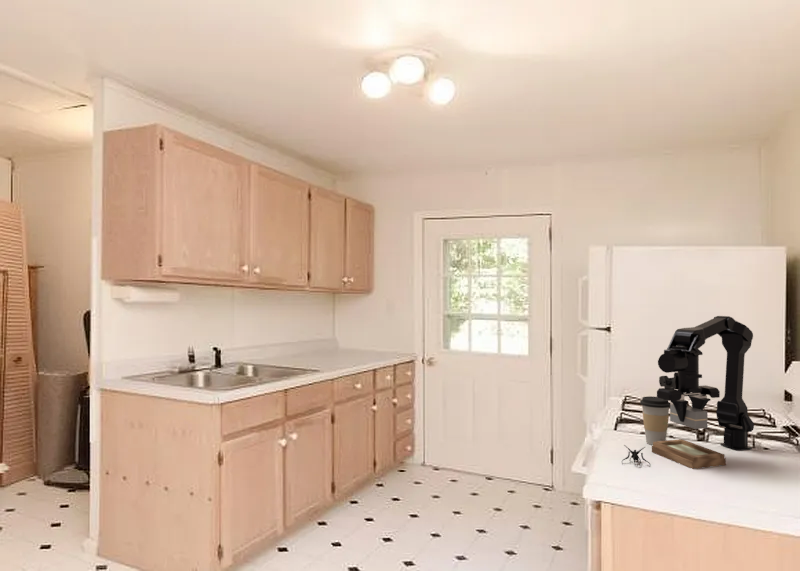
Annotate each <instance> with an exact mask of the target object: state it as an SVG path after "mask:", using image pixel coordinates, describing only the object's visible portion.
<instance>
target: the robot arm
mask: <svg viewBox="0 0 800 571" xmlns="http://www.w3.org/2000/svg"><path fill="white" fill-rule="evenodd" d="M715 335H718V336H719V338H720V337H721V344H722V346H723V348H724V351H726V363H725V380H724V381H725V383H724V396H723V397H722V398H721V400H718V401H717V403H716V411H715V414H716V420H717V422H718V426H719V427H722V428H723V429H724V430H723V431H724V432H723V443H722V442H721V443H720V446H723V447H725V448H728V449H731V450H733V451H744V450H745V451H746V450H752V449H753V447H752V446H749V444H748V443H749V441H748V439H749V437H748V434H749V433H751V432H753V431H754V427H755V423H754V422H753V420H752V418H751V417H750V415H749V414H748V406H747V405H746V404H747V403H746V402H745V401H744V398H743V392H744V391H743V388H744V373H745V372H744V371H745V370H744V369H745V356H746V355H745V354H746V353H747V352H748V351H749V349H750V348H751V346H752V341H753V339H754V333H753V331H752V330H751V329H750V328H749V327H748V326H747V325H745V324H743V323H741V322H739V321H737V320H735V319H734V317H731V316H728V315H727V316H726V315H717V316H714V317H713V318H711V319H710V320H708V321H705V322H703V323H701V324H698V325H696V326H692V327H682V328H677V329H676V330H675V332H674V334H673V335H672V337H671V339H670V342H669V344H668V346H667V347H666V349H664V350H663V353H662V354H661V355H660V356H659V358H658V359H657V365H658V368H659V369H660V370H661V371H662V372H664V373H666V374H667V373H668V374H669V373H673V377H669V376H667V375H661V376H659V378H658V383H659V386H660V387H659V388H658V389H657V391H656V397H658V398H661V399H665V400H668V402H669V401H670V403H671V404H672V405H674V407H675V409H676V412H677V414H678V417H679V420H680V421H681V422H684V419H685V414H686V409H687V406H688V403H689V402H688V400H685V397H688V398H689V400H690V401H691V407H693V408H697V409H701V410H704V409H705V408H706V406H707V404H708V403H709V402H711V398H712V399H717V398H720V395H721V394H720V390H719V389H718V388H717V387H714V386H710V385H705V384H704V385H700V383H699V381H700V380H699V379H702V378H703V374H701V373H699V372H700V370H699V369H700V368H699V366H700V365H699V358H700V357H699V356H703V354H704V353H703V351H701V350H700V348H701V347H702V346H704V345H705V343H706V340H707V339H710V338H712V337H713V336H715ZM662 387H663V388H662ZM708 396H709V397H710V398H708Z"/></svg>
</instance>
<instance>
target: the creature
mask: <svg viewBox="0 0 800 571" xmlns="http://www.w3.org/2000/svg"><path fill="white" fill-rule="evenodd" d="M623 446H624V447H626V449H627V450H628V455H627V456H626V457H625V458H623V459H622V460H621V464H622V465H623V464H624V463H623V461H624V460H627V459H629V460H631V459H632V460H633V463H634V467H636V461H637V464H639V463H640V464H641V463H642V461H641V459H642V460H643V461H645V462H646V463H648V464H649V466H648V467H649V468H650V467H651V463H650V462H649V461H648V460H646V459H645V458H644V456H643V454H644V453H643V452H641V451H642V450H644V449H645V448H646V446H644V447H642V448H640V449H639V450H637V449H634V450H631V449H630V448H629V447H628V446H626V445H625V444H623ZM640 452H641V453H640ZM630 454H631V456H630ZM639 454H641V455H640V456H641V458H640V457H639Z"/></svg>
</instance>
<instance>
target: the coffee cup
mask: <svg viewBox="0 0 800 571" xmlns="http://www.w3.org/2000/svg"><path fill="white" fill-rule="evenodd" d="M641 399H642V400H640V402H639V404H640V405H641V407H642V408H641V409H642V420H643V421H642V422H643V428H644V433H645V434H644V435H645V442H646V444H648V445H651V446H653V442H657V441H667V432H668V425H669V420H670V405H671V402H669V400H665V399H661V398H658V397H657V396H650V395H649V396H643V397H642V398H641Z"/></svg>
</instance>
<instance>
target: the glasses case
mask: <svg viewBox="0 0 800 571" xmlns="http://www.w3.org/2000/svg"><path fill="white" fill-rule="evenodd" d="M708 417H709V416H708V410H704V409H703V410H701V409H697V408H693V407H692V406H689V405H687V409H686V414H685V419H684V422H681V421H680V420H679V417H678V414H677V412H676V409H675V407H674V405H673V404H670V407H669V421H670V422H671V423H672V422H673V423H675V424H678V425H681V426H684V427H688V428H690V429H694V430H700V429H701V430H703V429H708V422H709V421H708V419H709V418H708Z"/></svg>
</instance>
